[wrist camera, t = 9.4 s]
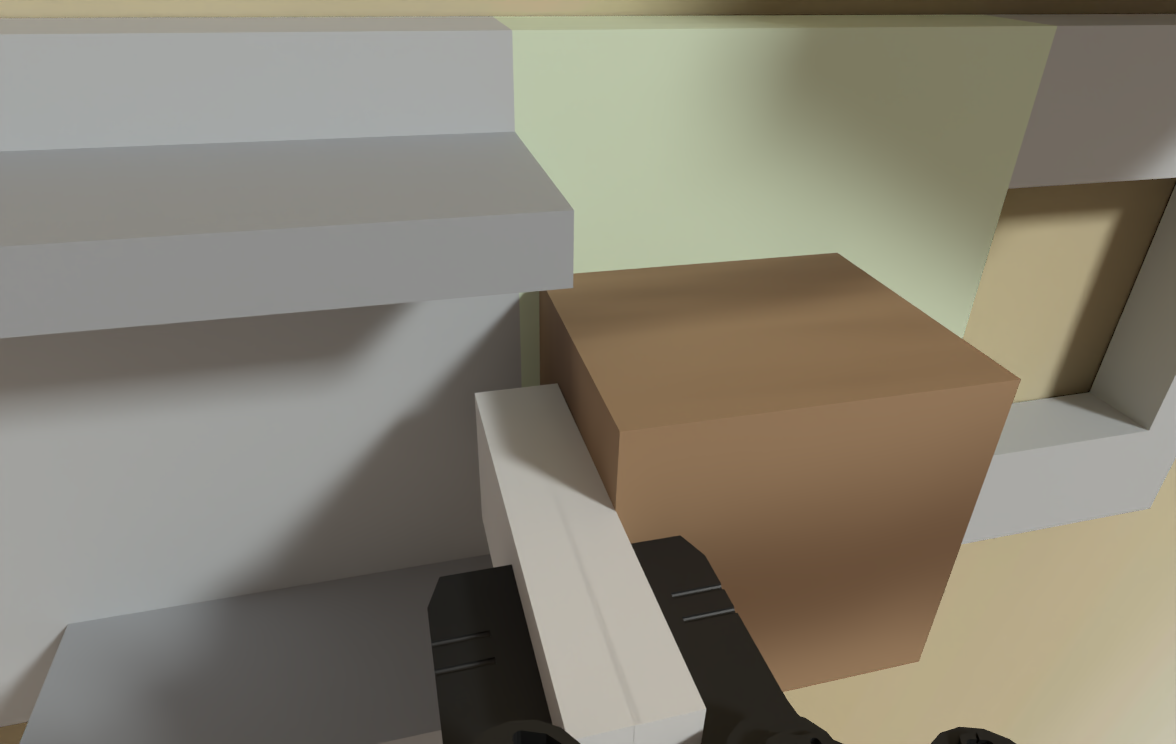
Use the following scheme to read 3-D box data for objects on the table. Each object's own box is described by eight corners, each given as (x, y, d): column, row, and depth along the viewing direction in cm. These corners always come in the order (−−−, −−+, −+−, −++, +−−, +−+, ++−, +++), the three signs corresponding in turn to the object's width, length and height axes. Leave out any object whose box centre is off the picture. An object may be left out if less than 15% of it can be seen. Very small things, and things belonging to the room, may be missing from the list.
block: (538, 276, 14) (620, 431, 10) (837, 252, 15) (1021, 379, 11) (540, 530, 17) (603, 732, 13) (789, 490, 18) (918, 660, 14)
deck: (-838, 21, 9) (-2174, 136, 4) (1297, 13, 17) (1673, 50, 12) (-267, 701, 16) (-548, 1054, 11) (1094, 467, 24) (1288, 611, 19)
